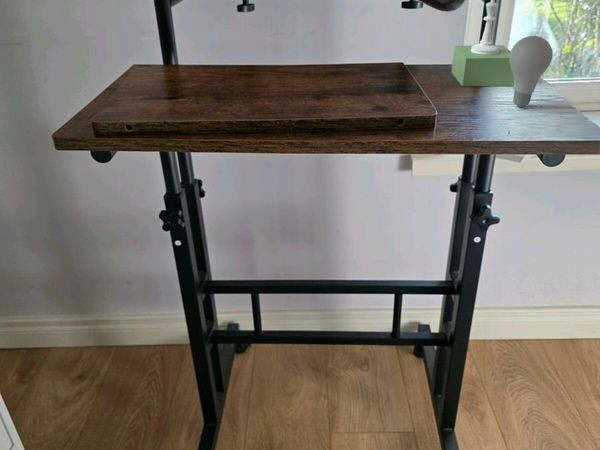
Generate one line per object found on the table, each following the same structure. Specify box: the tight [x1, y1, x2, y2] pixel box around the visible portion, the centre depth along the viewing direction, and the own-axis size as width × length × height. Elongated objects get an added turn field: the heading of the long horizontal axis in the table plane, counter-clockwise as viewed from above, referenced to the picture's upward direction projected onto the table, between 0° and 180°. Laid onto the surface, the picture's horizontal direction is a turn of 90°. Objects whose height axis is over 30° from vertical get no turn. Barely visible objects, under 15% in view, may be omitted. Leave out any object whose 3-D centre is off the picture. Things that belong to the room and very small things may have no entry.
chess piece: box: [471, 0, 499, 55], centre depth 94 cm, size 5×5×10 cm
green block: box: [450, 44, 514, 87], centre depth 98 cm, size 9×9×5 cm
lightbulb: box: [509, 35, 554, 108], centre depth 83 cm, size 6×6×11 cm
